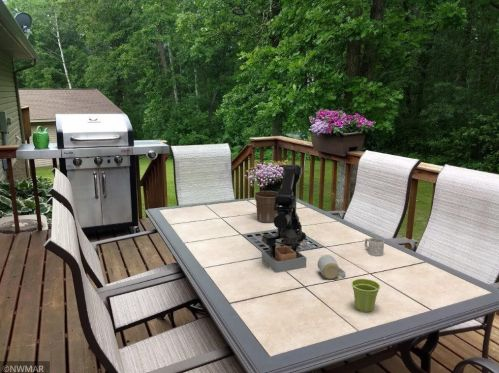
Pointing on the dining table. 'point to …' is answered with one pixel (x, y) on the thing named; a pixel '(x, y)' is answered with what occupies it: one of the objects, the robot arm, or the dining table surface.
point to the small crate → (284, 253)
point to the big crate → (284, 262)
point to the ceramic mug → (329, 267)
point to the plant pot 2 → (365, 294)
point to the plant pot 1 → (265, 206)
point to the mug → (375, 246)
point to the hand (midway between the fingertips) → (283, 256)
